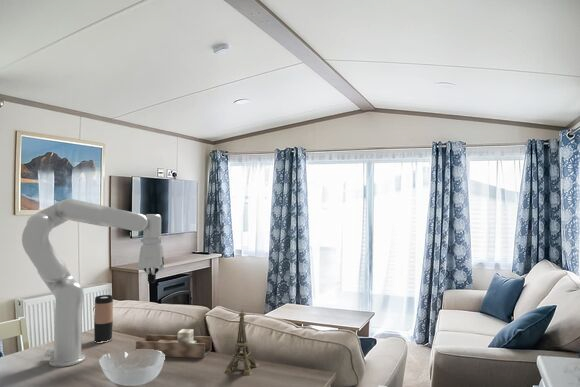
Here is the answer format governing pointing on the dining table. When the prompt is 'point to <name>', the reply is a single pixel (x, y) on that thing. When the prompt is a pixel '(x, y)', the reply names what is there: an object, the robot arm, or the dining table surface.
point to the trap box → (176, 345)
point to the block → (186, 335)
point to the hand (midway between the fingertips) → (151, 283)
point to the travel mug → (103, 318)
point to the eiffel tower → (244, 354)
